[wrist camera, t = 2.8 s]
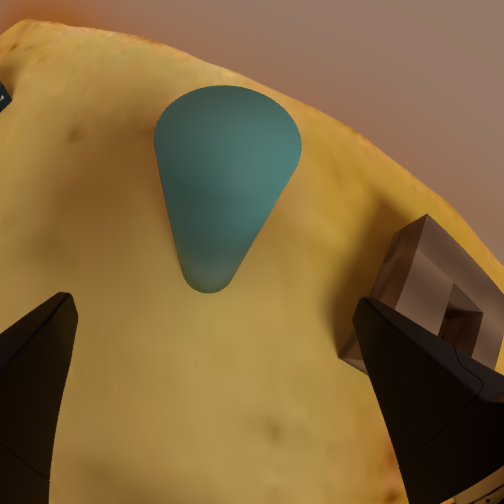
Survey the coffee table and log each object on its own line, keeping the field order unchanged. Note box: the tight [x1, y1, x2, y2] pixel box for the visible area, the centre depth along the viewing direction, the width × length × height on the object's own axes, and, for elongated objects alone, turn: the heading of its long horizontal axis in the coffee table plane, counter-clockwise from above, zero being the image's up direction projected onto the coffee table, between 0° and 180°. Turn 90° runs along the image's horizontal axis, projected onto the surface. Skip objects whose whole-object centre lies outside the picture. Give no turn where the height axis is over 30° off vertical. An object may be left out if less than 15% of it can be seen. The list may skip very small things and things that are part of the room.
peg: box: [154, 85, 301, 293], centre depth 13 cm, size 4×4×14 cm
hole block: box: [339, 214, 504, 376], centre depth 19 cm, size 12×14×4 cm
